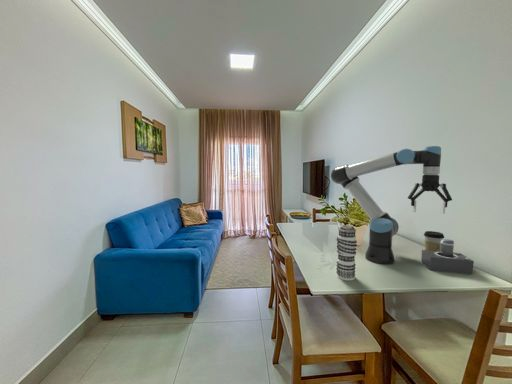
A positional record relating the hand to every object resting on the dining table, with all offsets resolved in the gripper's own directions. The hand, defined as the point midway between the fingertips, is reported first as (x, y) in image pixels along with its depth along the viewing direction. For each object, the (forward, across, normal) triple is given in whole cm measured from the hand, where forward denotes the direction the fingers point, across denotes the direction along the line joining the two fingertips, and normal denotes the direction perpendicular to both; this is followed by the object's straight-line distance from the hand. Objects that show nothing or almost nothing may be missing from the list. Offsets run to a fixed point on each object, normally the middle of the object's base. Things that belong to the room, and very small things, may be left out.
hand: (428, 212), depth 129 cm
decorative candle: (+29, -44, -35) cm, 63 cm away
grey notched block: (+28, +7, -7) cm, 30 cm away
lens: (+23, +7, -7) cm, 25 cm away
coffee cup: (+29, +7, +10) cm, 31 cm away
